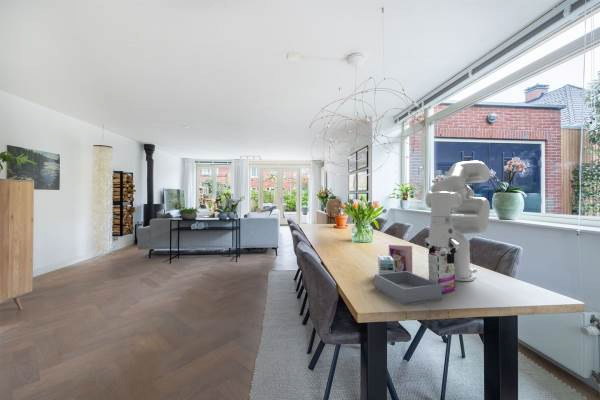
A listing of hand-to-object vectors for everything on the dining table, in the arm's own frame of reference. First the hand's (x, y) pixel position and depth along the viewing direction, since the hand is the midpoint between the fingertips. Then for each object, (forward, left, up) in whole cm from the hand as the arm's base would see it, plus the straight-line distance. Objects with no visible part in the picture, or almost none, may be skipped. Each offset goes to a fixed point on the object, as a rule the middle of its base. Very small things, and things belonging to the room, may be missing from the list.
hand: (441, 260), depth 109 cm
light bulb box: (+12, -21, -13) cm, 28 cm away
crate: (+16, -2, -13) cm, 21 cm away
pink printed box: (0, -25, -13) cm, 29 cm away
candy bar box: (-1, 0, -13) cm, 13 cm away
